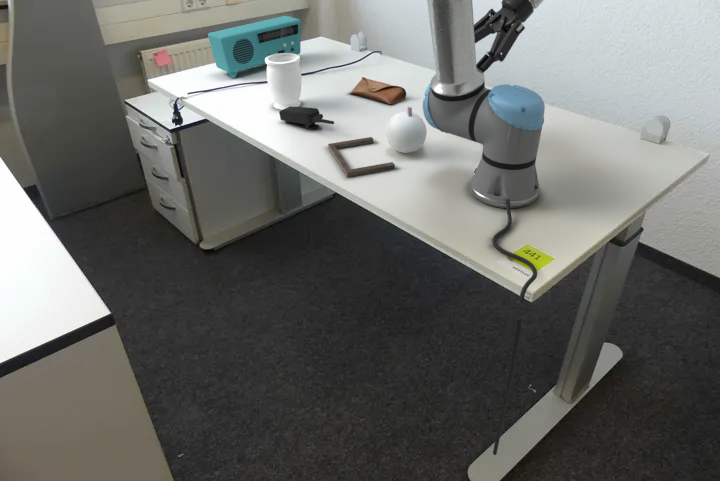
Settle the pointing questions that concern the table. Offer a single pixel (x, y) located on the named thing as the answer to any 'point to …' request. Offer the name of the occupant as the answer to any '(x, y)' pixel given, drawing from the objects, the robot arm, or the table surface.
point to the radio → (254, 43)
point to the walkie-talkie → (303, 117)
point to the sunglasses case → (379, 91)
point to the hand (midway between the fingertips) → (459, 72)
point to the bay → (362, 170)
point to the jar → (284, 79)
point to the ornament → (406, 131)
